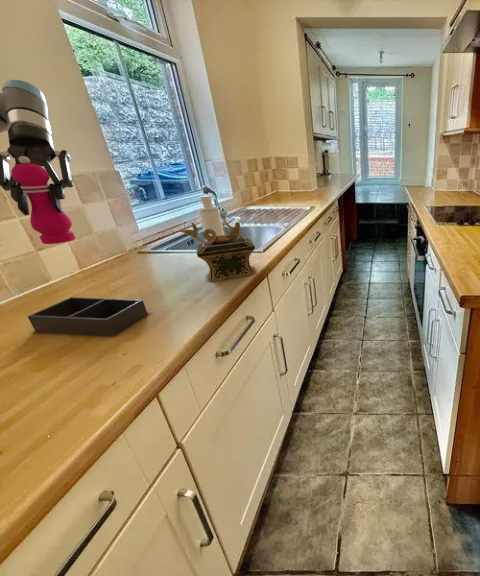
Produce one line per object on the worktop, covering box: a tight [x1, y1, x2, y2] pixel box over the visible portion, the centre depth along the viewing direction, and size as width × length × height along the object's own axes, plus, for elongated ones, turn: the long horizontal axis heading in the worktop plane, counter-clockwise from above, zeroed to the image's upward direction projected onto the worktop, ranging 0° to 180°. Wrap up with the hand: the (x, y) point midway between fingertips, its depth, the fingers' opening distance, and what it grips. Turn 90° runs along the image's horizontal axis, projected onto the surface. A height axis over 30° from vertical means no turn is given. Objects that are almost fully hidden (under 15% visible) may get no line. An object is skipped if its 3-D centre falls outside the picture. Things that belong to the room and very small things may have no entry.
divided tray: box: [26, 296, 149, 337], centre depth 77 cm, size 20×10×5 cm, turn 85°
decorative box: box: [179, 213, 256, 282], centre depth 103 cm, size 20×10×20 cm, turn 119°
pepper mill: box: [10, 156, 76, 245], centre depth 77 cm, size 7×7×20 cm
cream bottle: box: [197, 194, 225, 241], centre depth 119 cm, size 7×7×25 cm
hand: (40, 210), depth 75 cm, fingers closed on pepper mill, 5 cm apart
